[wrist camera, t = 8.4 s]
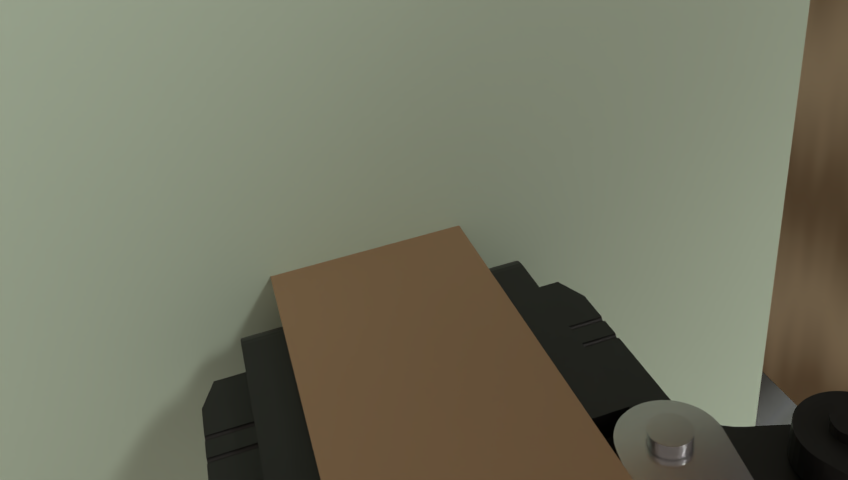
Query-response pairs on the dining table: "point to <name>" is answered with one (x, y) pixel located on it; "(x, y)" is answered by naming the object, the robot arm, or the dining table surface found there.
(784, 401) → the dining table surface
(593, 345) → the robot arm
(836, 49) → the oak box
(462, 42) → the lid
